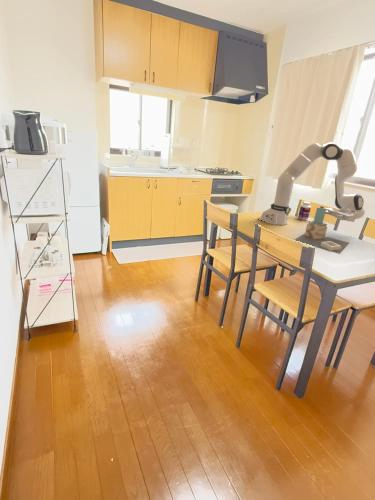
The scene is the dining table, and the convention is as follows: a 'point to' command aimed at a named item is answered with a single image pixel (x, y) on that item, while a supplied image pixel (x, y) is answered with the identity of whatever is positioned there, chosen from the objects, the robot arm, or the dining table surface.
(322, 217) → the plug block
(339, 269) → the dining table surface
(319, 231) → the brown mottled container
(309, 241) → the mat
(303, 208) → the pill bottle
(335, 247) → the lower socket
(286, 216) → the robot arm
